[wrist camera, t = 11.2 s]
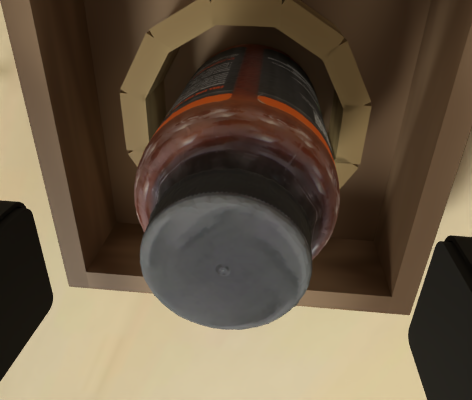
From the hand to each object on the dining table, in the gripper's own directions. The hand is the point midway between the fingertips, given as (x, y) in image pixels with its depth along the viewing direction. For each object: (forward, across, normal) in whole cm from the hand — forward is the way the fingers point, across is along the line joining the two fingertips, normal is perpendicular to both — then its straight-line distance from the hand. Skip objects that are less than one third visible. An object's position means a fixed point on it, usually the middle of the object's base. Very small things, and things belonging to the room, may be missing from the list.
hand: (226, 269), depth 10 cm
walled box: (+12, 0, -1) cm, 12 cm away
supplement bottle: (+11, 0, 0) cm, 11 cm away
